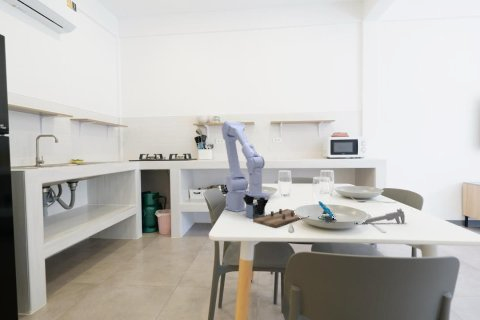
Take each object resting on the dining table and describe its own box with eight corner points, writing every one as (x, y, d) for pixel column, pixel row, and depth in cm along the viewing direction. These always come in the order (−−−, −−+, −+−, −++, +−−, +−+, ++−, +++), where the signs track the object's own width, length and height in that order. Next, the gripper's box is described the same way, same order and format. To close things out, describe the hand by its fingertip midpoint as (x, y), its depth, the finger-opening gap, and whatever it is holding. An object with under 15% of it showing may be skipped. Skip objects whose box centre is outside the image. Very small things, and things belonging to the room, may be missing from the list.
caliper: (402, 223, 107) (403, 208, 107) (404, 224, 106) (404, 208, 106) (353, 224, 106) (353, 209, 106) (354, 225, 105) (355, 209, 105)
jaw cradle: (253, 221, 110) (253, 214, 110) (287, 211, 126) (287, 204, 126) (275, 228, 101) (275, 220, 101) (309, 216, 118) (309, 209, 118)
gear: (337, 219, 106) (319, 200, 110) (326, 228, 108) (309, 210, 111) (338, 216, 117) (321, 199, 120) (328, 225, 118) (312, 207, 121)
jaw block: (246, 217, 117) (246, 204, 116) (258, 214, 122) (258, 201, 122) (252, 219, 114) (252, 205, 114) (264, 215, 120) (264, 202, 119)
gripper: (237, 182, 120) (238, 212, 120) (261, 186, 109) (261, 218, 110) (248, 181, 125) (248, 209, 125) (272, 184, 114) (272, 214, 115)
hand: (255, 213), depth 118 cm, fingers open, 6 cm apart
